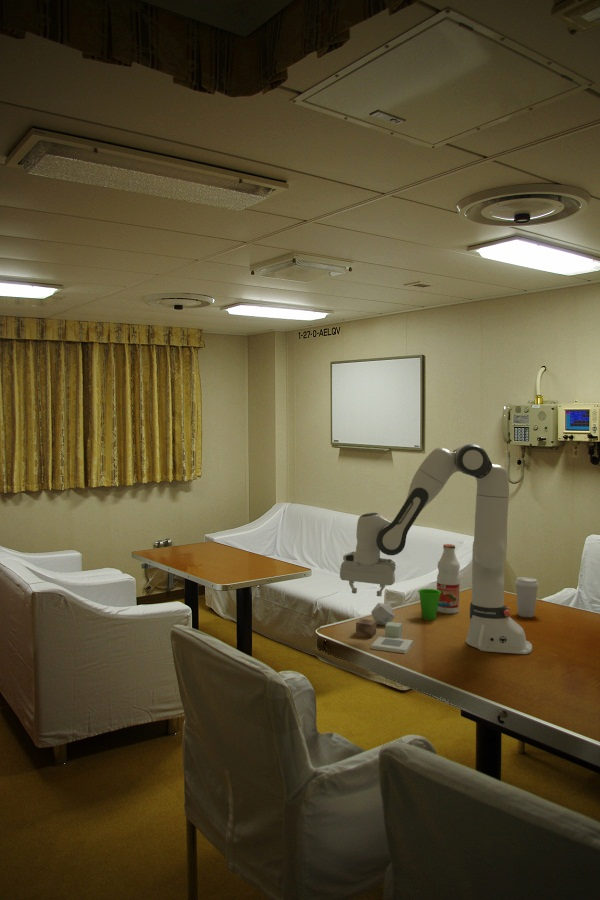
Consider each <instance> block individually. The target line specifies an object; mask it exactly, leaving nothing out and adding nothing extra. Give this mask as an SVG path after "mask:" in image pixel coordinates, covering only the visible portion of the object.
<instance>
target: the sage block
mask: <svg viewBox="0 0 600 900" xmlns="http://www.w3.org/2000/svg"><path fill="white" fill-rule="evenodd" d="M384 628H385V629H384V636H385V637H392V638H400V639H402V636H403V635H402V634H403V623H402V622H394V621H391V622H388V623H387V624H386V625H384Z"/></svg>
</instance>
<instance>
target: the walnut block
mask: <svg viewBox="0 0 600 900" xmlns="http://www.w3.org/2000/svg"><path fill="white" fill-rule="evenodd" d="M376 634H377V624H376V621H374V619H373V620H372V619H366V618H359V620H357V621H356V622H355V637H359V638H360V637H361V638H366V639H373V638H374V637H375V636H376Z"/></svg>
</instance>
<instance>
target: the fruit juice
mask: <svg viewBox="0 0 600 900" xmlns="http://www.w3.org/2000/svg"><path fill="white" fill-rule="evenodd" d="M442 549H443V551H442V555H441V557H440V559H439V560H438V561H437V570H438V573H437V577H436V590H439V591H441V593H440V597H439V602H438V608H437V612H439V613H441V614H449V615H450V614H457V613H459V612H460V589H461V587H460V586H461V585H460V584H461V581H460V574H459V571H460V568H461V565H460V562H459V561H458V559H457V557H456V556H457V555H456V552H455V549H456V545H455V544H452V543H450V544H449V543H444V544H443V547H442Z"/></svg>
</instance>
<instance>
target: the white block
mask: <svg viewBox="0 0 600 900" xmlns="http://www.w3.org/2000/svg"><path fill="white" fill-rule="evenodd" d="M370 614H371V616H372V618H373V620H374V621H376V625H381V626H385V625H386V624H387V623H388V622H393V619H395V617H396V615H395V613H394V610H393V607H392V604H389V603H385V602H384V603H383V602H378V603H377V604H376V605H375V607H374V608H373V609H371V612H370Z"/></svg>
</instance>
